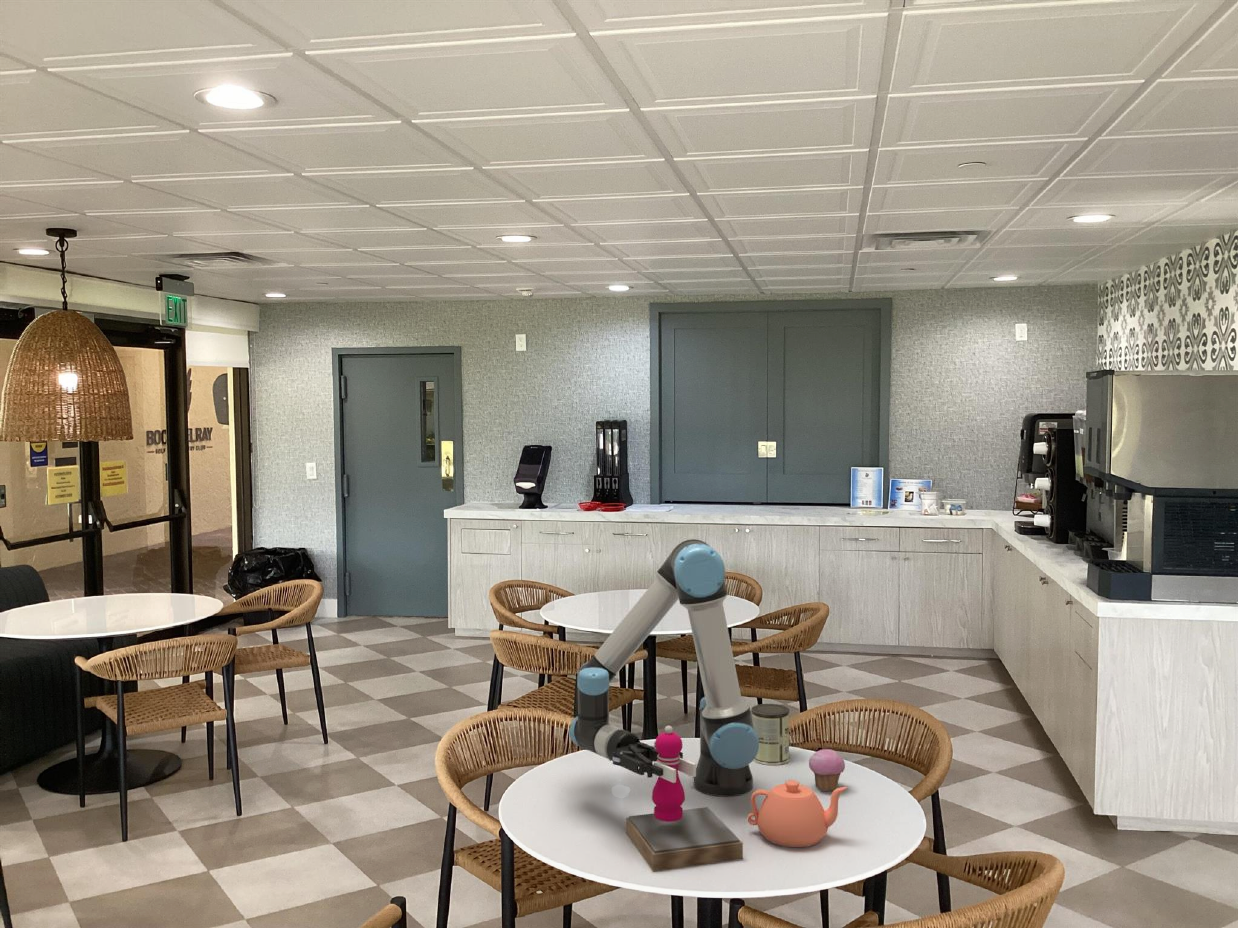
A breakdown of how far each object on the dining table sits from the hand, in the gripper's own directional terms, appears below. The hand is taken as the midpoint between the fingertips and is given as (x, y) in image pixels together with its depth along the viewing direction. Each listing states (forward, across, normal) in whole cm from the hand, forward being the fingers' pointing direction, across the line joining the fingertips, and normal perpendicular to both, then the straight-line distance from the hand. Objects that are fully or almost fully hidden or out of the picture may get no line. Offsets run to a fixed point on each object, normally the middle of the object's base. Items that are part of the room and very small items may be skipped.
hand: (684, 773), depth 211 cm
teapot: (+9, -26, -18) cm, 33 cm away
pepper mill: (-5, 0, -11) cm, 12 cm away
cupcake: (-6, -54, -18) cm, 57 cm away
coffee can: (-31, -59, -18) cm, 69 cm away
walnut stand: (-4, -3, -18) cm, 19 cm away
